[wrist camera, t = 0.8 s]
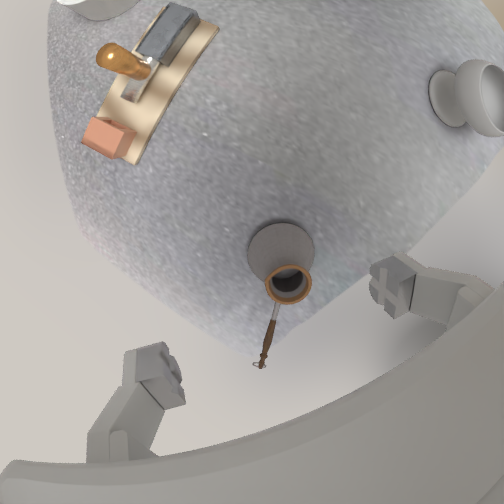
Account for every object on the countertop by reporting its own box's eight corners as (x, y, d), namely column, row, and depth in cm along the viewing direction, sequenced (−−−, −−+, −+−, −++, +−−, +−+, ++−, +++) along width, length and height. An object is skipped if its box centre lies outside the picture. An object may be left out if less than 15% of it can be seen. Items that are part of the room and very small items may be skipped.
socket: (107, 117, 38) (92, 116, 33) (137, 131, 39) (124, 132, 35) (96, 140, 39) (81, 142, 35) (125, 155, 41) (111, 159, 36)
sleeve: (177, 13, 31) (170, 2, 27) (200, 21, 32) (196, 10, 28) (145, 57, 34) (134, 50, 30) (168, 67, 35) (159, 60, 31)
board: (166, 9, 31) (163, 6, 30) (219, 29, 34) (218, 26, 33) (90, 139, 41) (86, 139, 39) (137, 164, 43) (134, 165, 42)
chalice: (464, 68, 34) (512, 63, 20) (475, 130, 40) (525, 139, 26) (416, 64, 35) (466, 51, 22) (431, 133, 41) (484, 141, 27)
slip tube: (174, 19, 31) (147, -18, 18) (190, 25, 32) (168, -13, 19) (124, 97, 36) (78, 88, 23) (139, 104, 37) (96, 96, 24)
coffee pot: (257, 210, 47) (261, 244, 33) (319, 227, 48) (346, 265, 35) (228, 311, 55) (223, 365, 42) (282, 322, 57) (291, 375, 43)
